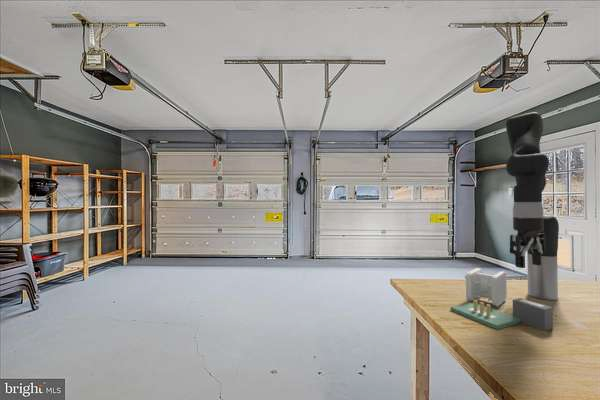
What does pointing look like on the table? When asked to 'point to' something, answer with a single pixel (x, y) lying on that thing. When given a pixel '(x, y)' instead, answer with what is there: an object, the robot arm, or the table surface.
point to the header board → (486, 314)
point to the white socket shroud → (486, 286)
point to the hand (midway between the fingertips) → (528, 266)
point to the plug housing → (533, 314)
